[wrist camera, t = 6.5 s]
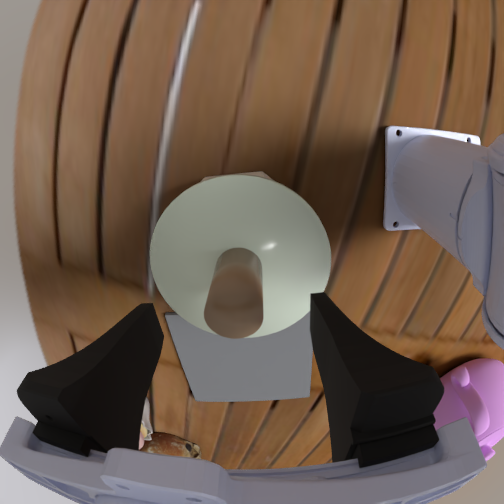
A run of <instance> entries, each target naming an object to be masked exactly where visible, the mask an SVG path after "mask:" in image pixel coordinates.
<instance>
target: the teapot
mask: <svg viewBox="0 0 504 504" xmlns="http://www.w3.org/2000/svg"><path fill="white" fill-rule="evenodd" d="M440 380H441V382H442V384H443V386H444V394H443V397H442V399H441V401H440V403H439V404H438V406H437V408H436V409H435V411H434V412H433V414H434V417H435V419H436V422H435V424H433V425H434V427H435V430H437V429H439V428H440V427H442V426H444V425H446V424H449V423H452V422H454V421H457V420H459V419H462V418H464V417H467V419H468V421H469V423H470V425H471V428H472V430H473V432H474V434H475V437H476V439H477V441H478V443H479V446H480V448H481V451H482V453H483V455H484V458H485V460H486V461H487V460H488V459H490V458H491V457H492V456H493V455H494V454H495V451H494V450H493V449H492V448H491V447H492V446H494V445H495V444H496V443H497V442H498V441H499V440H500V439H502V438H503V437H504V364H503V363H502V362H500V361H499V360H496V359H485V358H484V359H481V358H480V359H474V360H471V361H468V362H466V363H464V364H462V365H460V366H458V367H456V368H455V369H453V370H451V371H450V372H448V373H447V374H445V375H444V376H442V377H441V378H440Z"/></svg>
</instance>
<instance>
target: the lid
mask: <svg viewBox="0 0 504 504" xmlns="http://www.w3.org/2000/svg"><path fill="white" fill-rule="evenodd" d="M150 265H151V270H152V274H153V278H154V281H155V283H156V285H157V287H158V290H159V292H160V293H161V295H162V296H163V298H164V299H165V301H166V302H167V303H168V304H169V306H170V307H171V308H172V309H173V310H174V311H175V312H176V313H177V314H178V315H180V316H181V317H182V318H183V319H185V320H186V321H188V322H189V323H191V324H193V325H194V326H196V327H198V328H200V329H202V330H205V331H207V332H210V333H213V334H216V335H220V336H223V337H226V338H231V339H239V338H252V337H260V336H265V335H269V334H272V333H276V332H278V331H281V330H283V329H285V328H287V327H289V326H291V325H292V324H294V323H296V322H297V321H298V320H300V319H301V318H303V317H304V316H305V315H306V314H307V313H308V312H309V311H310V293H320V292H323V291H324V289H325V287H326V285H327V282H328V278H329V275H330V268H331V250H330V244H329V240H328V237H327V233H326V231H325V229H324V227H323V225H322V223H321V221H320V219H319V217H318V216H317V214H316V213H315V211H314V210H313V209H312V207H311V206H310V205H309V204H308V203H307V202H306V201H305V200H304V199H303V198H302V197H301V196H299V195H298V194H297V193H296V192H294V191H293V190H291V189H290V188H288V187H286V186H285V185H283V184H281V183H278V182H276V181H274V180H271V179H268V178H264V177H261V176H256V175H248V174H228V175H222V176H216V177H213V178H209V179H206V180H204V181H201V182H199V183H197V184H195V185H193V186H191V187H190V188H188V189H187V190H185V191H184V192H182V193H181V194H180V195H179V196H178V197H177V198H175V199H174V200H173V201H172V202H171V204H170V205H169V206H168V207H167V208H166V209H165V211H164V212H163V214H162V215H161V217H160V218H159V220H158V222H157V224H156V227H155V229H154V232H153V235H152V239H151V245H150Z"/></svg>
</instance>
